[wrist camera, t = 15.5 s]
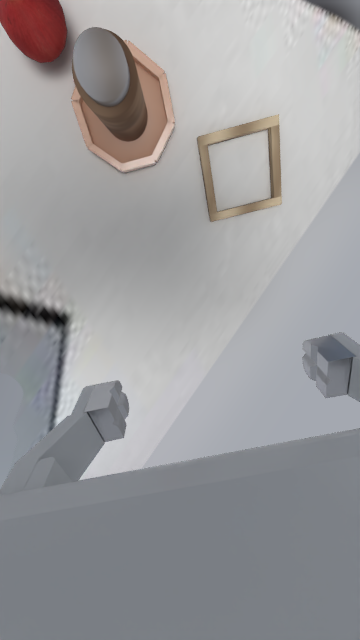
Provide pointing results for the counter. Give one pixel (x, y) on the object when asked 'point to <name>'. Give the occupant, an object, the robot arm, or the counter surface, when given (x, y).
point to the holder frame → (274, 157)
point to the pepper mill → (110, 82)
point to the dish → (157, 127)
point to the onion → (35, 27)
